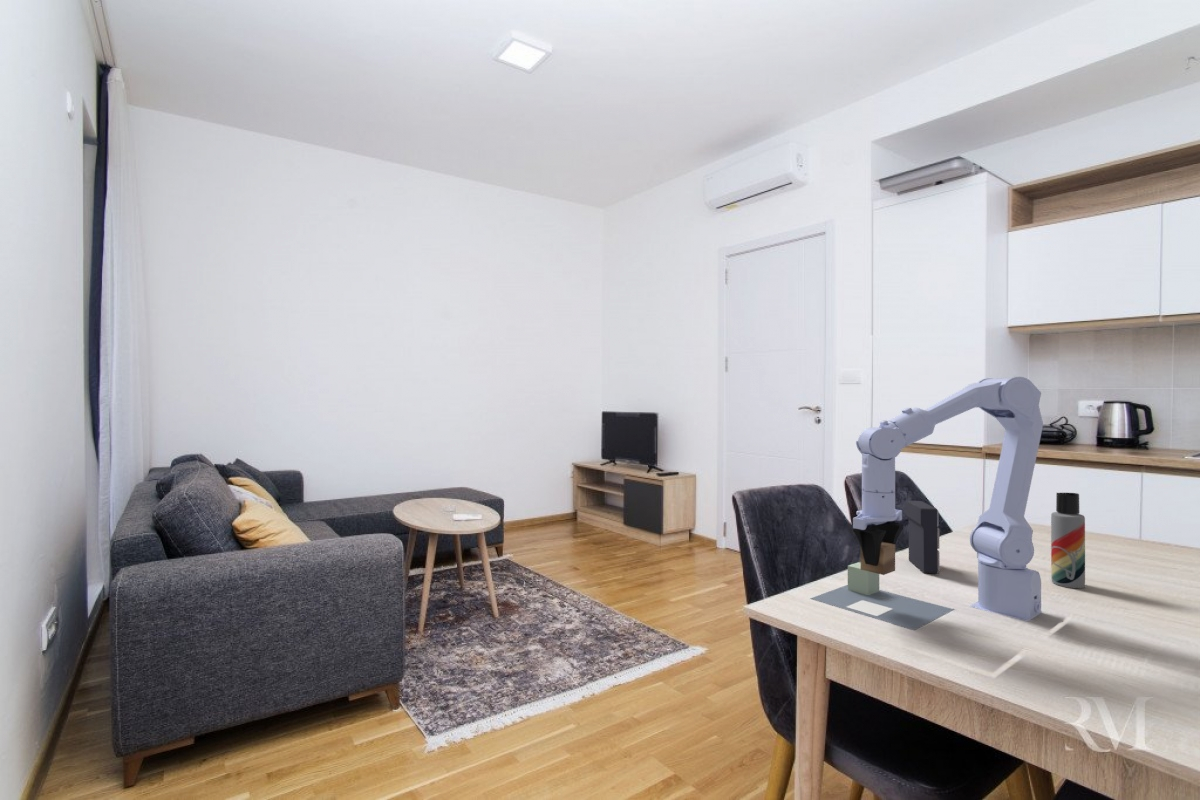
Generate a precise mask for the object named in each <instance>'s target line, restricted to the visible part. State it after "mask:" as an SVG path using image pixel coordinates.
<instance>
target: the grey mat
mask: <svg viewBox="0 0 1200 800" xmlns="http://www.w3.org/2000/svg"><path fill="white" fill-rule="evenodd" d="M809 600H813V601H816V602H819V603H822V604H825V605H829V606H832V607H836V608H839V609H841V610H842V609H843V610H846V611H850V612H852V613H854V614H859V615H863V616H865V617H868V618H872V619H875V620H879V621H882V622H886V623H889V624H892V625H894V626H899V627H902V628H906V629H908V630H911V631H916V630H918V629H919V628H923V626H926V625H927V624H929V623H932V622H934V621H935V620H937V619H939V618H941V617H943V616H944V615H947V614H948V613H950V612H952V611H955V609H954V608H951V607H947V606H943V605H940V604H936V603H931V602H927V601H923V600H920V599H916V598H911V597H909V596H905V595H900V594H897V593H893V592H890V591H886V590H883V589H879V591H878V592H876V593H873V594H871V595H865V594H861V593H857V592H854V591H850V590H848V584H846V585H843V586H841V587H838V588H835V589H832V590H830V591H826V592H824V593H821V594H819V595H816V596H814V597H813V596H812V597H810V599H809Z"/></svg>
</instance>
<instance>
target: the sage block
mask: <svg viewBox="0 0 1200 800" xmlns="http://www.w3.org/2000/svg"><path fill="white" fill-rule="evenodd" d="M847 585H848V590H850V591H854V592H857V593H861V594H865V595H871V594H873V593H876V592H878V591H879V590H880V574H877V573H873V572H869V571H865V570H861V561H858V562H855V563H852V564H848V565H847Z"/></svg>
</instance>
